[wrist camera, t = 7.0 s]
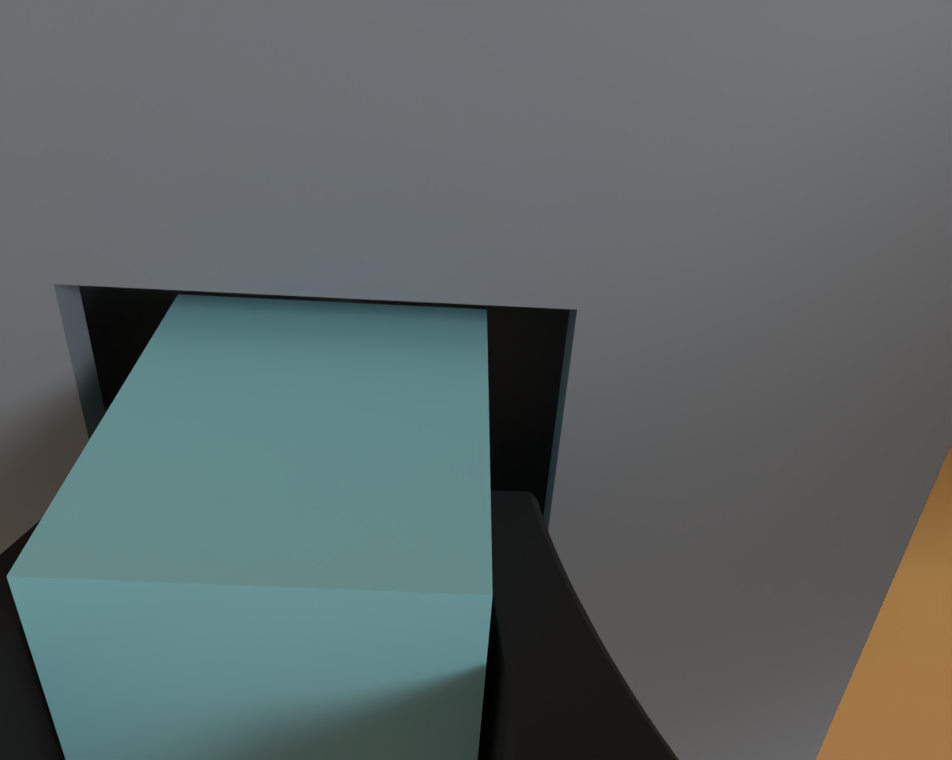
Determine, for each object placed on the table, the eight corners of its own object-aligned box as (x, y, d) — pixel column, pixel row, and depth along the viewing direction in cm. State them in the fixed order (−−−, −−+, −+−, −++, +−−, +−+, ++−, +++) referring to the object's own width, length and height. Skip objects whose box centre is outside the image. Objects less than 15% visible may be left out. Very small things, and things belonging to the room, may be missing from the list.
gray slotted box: (948, -266, 12) (1276, -313, 7) (698, 631, 22) (764, 876, 17) (-241, -347, 12) (-775, -458, 7) (43, 605, 22) (-89, 850, 17)
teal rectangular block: (487, 309, 12) (492, 594, 7) (470, 536, 14) (468, 857, 10) (178, 294, 12) (6, 576, 7) (210, 526, 14) (92, 846, 9)
